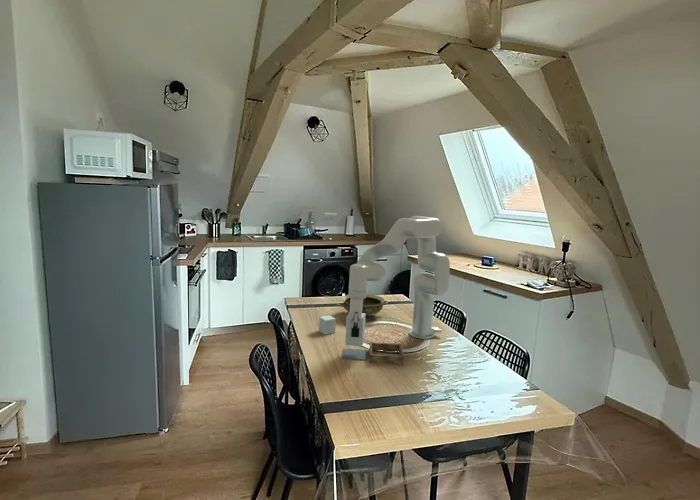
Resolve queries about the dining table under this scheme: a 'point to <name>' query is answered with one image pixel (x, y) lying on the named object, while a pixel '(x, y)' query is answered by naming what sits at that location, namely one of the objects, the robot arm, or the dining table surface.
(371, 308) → the ceramic bowl
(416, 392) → the dining table surface
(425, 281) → the robot arm
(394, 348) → the wooden square frame
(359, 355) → the pad
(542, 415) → the dining table surface
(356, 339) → the supplement box
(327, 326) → the product box
